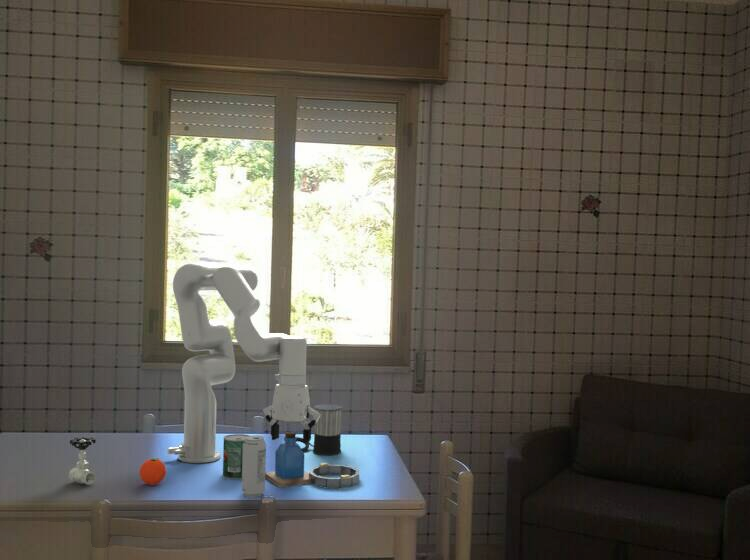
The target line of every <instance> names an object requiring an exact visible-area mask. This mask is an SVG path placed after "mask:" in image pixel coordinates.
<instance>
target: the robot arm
mask: <svg viewBox="0 0 750 560" xmlns="http://www.w3.org/2000/svg"><path fill="white" fill-rule="evenodd" d="M258 281H259V280H258V276H257V273H256V272H255V270H254V269H253V268H251V267H250V266H248V265H238V264H237V265H236V264H230V263H219V262H217V263H216V262H191V263H187V264H183V265H182V266H181V267H178V268H177V270H176V272H175V274H174V276H173V281H172V290H173V295H174V298H175V301H176V305H177V309H178V317H179V324H180V325H179V326H180V332H181V338H182V342H183V346H184V348H185V349H186V350H187V351H190V352H202V351H208V352H209V354H203V355H195V356H193V357H190V358H188V359H187V360H186V361H185V362H184V363H183V365H182V368H181V377H182V384H183V389H184V392H183V393H184V419H183V421H184V422H183V423H184V425H183V426H184V427H183V428H184V429H183V433H184V434H183V442H181V443H180V445H178V446H177V447H174V446H173V447H168V448H167V454H168V455H177V457H178V460H179V461H181V462H184V463H189V464H204V463H211V462H215V461H218V460H219V459H220V458H221V453H220V451H217V450H216V439H217V438H216V435H217V431H216V430H217V398H216V394H215V392H214V390H213V388H212V386H214V385H219V384H220V385H221V384H226V383H228V382H230V381H231V380H232V379H233V378H234V376H235V374H236V360H235V351H234V346H233V340H232V339H233V338H232V332H231V330H230V327H229V326H228V325H227V323H226V322H224V321H223V320H220V319H209V315H208V309H207V304H206V301H205V300H204V298H203V296H201V294H200V293H199V292H200V291H217V292H218V294H219V295H220V297H221V299H222V300H223V301H224V302H225V304H226V306H227V307H228V309H229V310H230V312H231V313H232V314H233V316H234V320H233V330H234V333H233V334H234V337H235V339H236V342H237V343H238V345H239V346H240V348H241V349H242V351H243V352H244V354H245V355H246V356H247V357H248V358H249V359H250V360H252V361H254V362H260V363H261V362H266V361H275V360H278V361H279V362H278V364H279V365H278V374H275V375H274V379H275V380H277V381H278V383H276V384H275V387H274V391H273V397H272V403H271V405H269V406H267V407H264V408H263V409H262V412H263V414H264V416H265V419H266V420H267V422H268V423H269V426H270V436H271V440H272V441H275V440H277V439H279V437H280V424H279V422H287V423H295V424H296V423H297V424H302V426H303V427H304V429H303V430H302V438H303V443H302V444H303V445H305V444H306V443H308V442H309V443H311V442H310V441H311V439H312V428H313V427H315V424H316V423H317V421H318V419H319V418H320V413H318V412H317V411H315V408H313V407H311V398H310V392H309V387H308V385H307V382H306V381H307V379H306V378H307V349H308V348H307V347H308V344H307V342H308V341H307V339H306V338H305V337H304V336H299V335H288V334H286V333H282V332H281V333H279V332H276V333H275V332H274V333H263V334H262V333H261V334H260V333H259V332H258V331H257V329H256V328H255V326H254V324H253V322H252V319H251V318H252V316H253V315H254V314H256V313H257V311H258V310H259V309H260V305H261V302H260V300H259V298H258V297H257V296H256V294H255V293H254V290H255V289H256V288H257V287H258ZM310 415H311V416H312V420H310V417H311V416H310Z"/></svg>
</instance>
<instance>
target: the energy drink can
mask: <svg viewBox="0 0 750 560" xmlns="http://www.w3.org/2000/svg"><path fill="white" fill-rule="evenodd" d="M266 453H267V443H266V441H265V437H264V436H263V435H249V436H247V437H246V438H245V441H244V443H243V458H242V479H241V493H243V496H244V497H246V498H259V497H262V496H263V494H264V492H265V491H266V478H265V472H266V461H267V460H266V459H267V458H266V457H267V456H266V455H267V454H266Z"/></svg>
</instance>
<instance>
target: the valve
mask: <svg viewBox="0 0 750 560" xmlns="http://www.w3.org/2000/svg"><path fill="white" fill-rule="evenodd" d="M96 442H97V440H96V438H94V436H93V437H87V436H82V437H81V438H79V437H74V438H73V439H69V445H71V446H74V448H76V449H78V450H79V451H80V452H79V453H78V459H79V460H78V461H77V462H76V466H74V467H72V469H71V470H70V471H69V472H68V479H69V480H71V481H73V482H75V483H77V484H79V485H88V486H91V485H92V484H93V483H94V482H95V481H96V473H95V472H93V471H90V470H89V469H88V467H89V462H88V461H87V459H86V458H87V452H86V450H87V449H88V448H89V447H90V446H92V444H96Z"/></svg>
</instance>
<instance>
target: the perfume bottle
mask: <svg viewBox="0 0 750 560" xmlns="http://www.w3.org/2000/svg"><path fill="white" fill-rule="evenodd" d="M296 434H297V432H296V431H285V432H284V436H283V441H284V443H280V444H279V446H278V448H276V450H275V453H274V455H275V458H274V461H275V462H274V465H275V466H274V471H275V474H276V475H278V476H279V477H280V478H282V479H291V478H300V477H304V471H305V454H304V452H303V451H302V450H301V448H302V447H301V445H299V444H298V443H297V442H296V443H297V444H298V445H297V444H296V443H295V441H296V437H297V436H296Z"/></svg>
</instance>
